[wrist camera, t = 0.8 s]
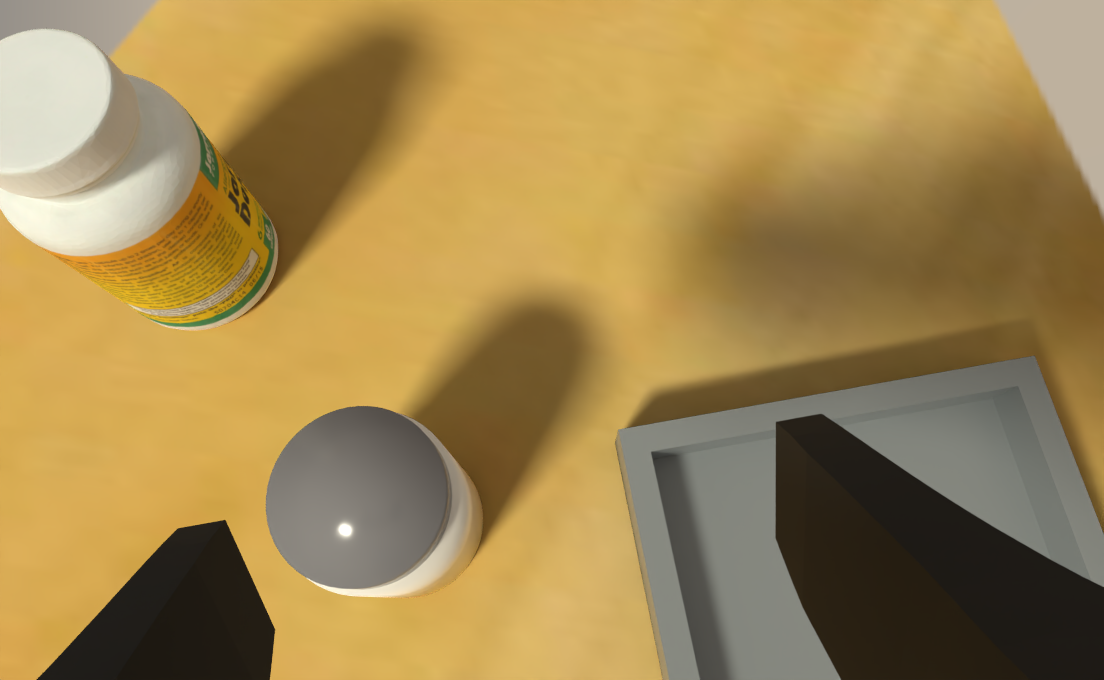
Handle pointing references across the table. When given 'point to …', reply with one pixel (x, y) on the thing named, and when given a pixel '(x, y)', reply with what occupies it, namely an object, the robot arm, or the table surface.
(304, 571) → the cylinder
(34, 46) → the supplement bottle
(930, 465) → the tray
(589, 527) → the table surface
